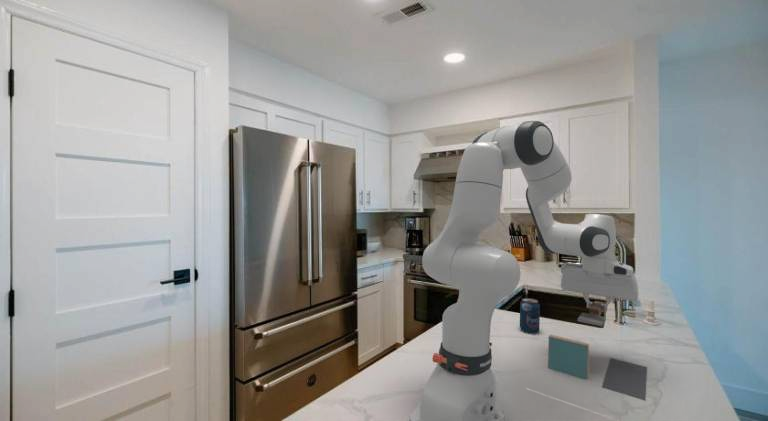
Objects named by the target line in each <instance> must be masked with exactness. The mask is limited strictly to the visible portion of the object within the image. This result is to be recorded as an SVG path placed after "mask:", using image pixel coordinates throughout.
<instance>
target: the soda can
mask: <svg viewBox="0 0 768 421" xmlns="http://www.w3.org/2000/svg"><path fill="white" fill-rule="evenodd" d="M540 314H541V305H540V304H539V300H538V299H535V298H531V297H530V298H529V297H525V298H521V301H520V303H519V327H520V328H519V329H520V330H521V332H523V333H525V334H528V335H529V334H530V335H536V334H538V333H539V331H540V325H541V324H540Z"/></svg>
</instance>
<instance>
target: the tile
mask: <svg viewBox="0 0 768 421" xmlns="http://www.w3.org/2000/svg"><path fill="white" fill-rule="evenodd" d="M547 352H548V354H547V355H548V357H547V368H548V369H550V370H553V371H557V372H561V373H564V374H568V375H570V376H574V377H576V378H580V379H584V380H588V379H589V377H590V376H589V370H590V365H589V364H590V358H589V357H590V343H588V342H583V341H579V340H575V339H570V338H568V337H567V338H566V337H562V336H558V335H554V334H549V335H548V351H547Z"/></svg>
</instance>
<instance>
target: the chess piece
mask: <svg viewBox="0 0 768 421" xmlns="http://www.w3.org/2000/svg"><path fill="white" fill-rule="evenodd" d="M654 302H655V300H654V299H653V298H649V301H648V308H645V309H644V310H645V311H647V315H646V316H645V317H646V319H643V320H642V322H643V323H644V324H645V325H649V324H651V325H650V326H660V323H659V322H658V321H656V320H657V318H656V317H655V313H657V312H658V311H657V310H655V303H654Z"/></svg>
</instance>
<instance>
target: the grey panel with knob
mask: <svg viewBox="0 0 768 421" xmlns="http://www.w3.org/2000/svg"><path fill="white" fill-rule="evenodd" d="M602 304H605V301H604V302H603V301H597V300H595V301H593V305H592V306H591V307H590V308H588V311H589V313H588V312H587V313H586V312H581V314H580V315H579V316H578V317H577V322H580V323H584V324H590V325H594V326H598V327H603V326H604V324H605V322H606V320H607V317H605V316H602V314H603V312H604V311H602V310H601V305H602Z"/></svg>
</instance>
